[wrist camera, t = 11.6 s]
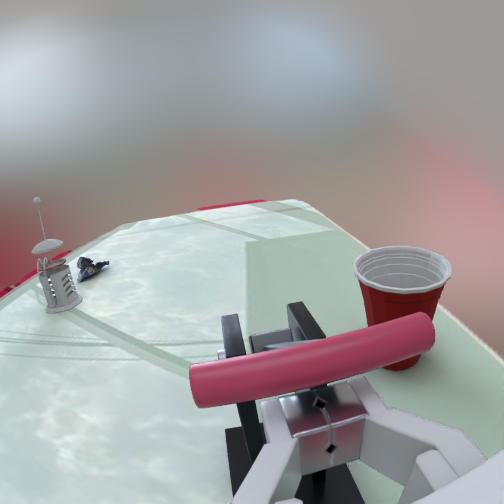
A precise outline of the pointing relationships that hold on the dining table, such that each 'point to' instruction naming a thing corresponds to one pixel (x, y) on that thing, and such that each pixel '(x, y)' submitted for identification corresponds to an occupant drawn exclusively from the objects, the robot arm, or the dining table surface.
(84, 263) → the snack package
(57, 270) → the french press
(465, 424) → the dining table surface
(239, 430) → the bracket
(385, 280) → the plastic cup
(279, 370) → the lever
